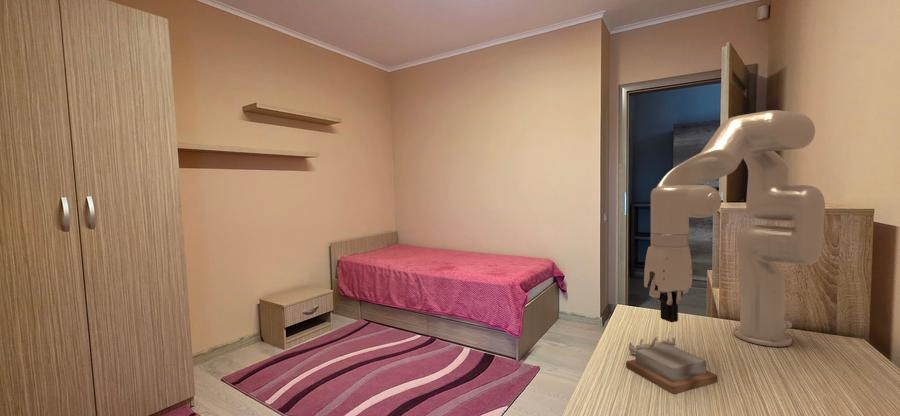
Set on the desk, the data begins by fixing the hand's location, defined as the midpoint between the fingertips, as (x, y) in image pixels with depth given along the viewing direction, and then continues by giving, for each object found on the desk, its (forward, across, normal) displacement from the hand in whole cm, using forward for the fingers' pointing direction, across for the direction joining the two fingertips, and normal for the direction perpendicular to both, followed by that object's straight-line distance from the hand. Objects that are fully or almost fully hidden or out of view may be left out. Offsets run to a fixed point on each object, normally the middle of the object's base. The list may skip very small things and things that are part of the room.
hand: (669, 320), depth 87 cm
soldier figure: (+12, -12, -8) cm, 18 cm away
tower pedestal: (+13, 0, 0) cm, 13 cm away
